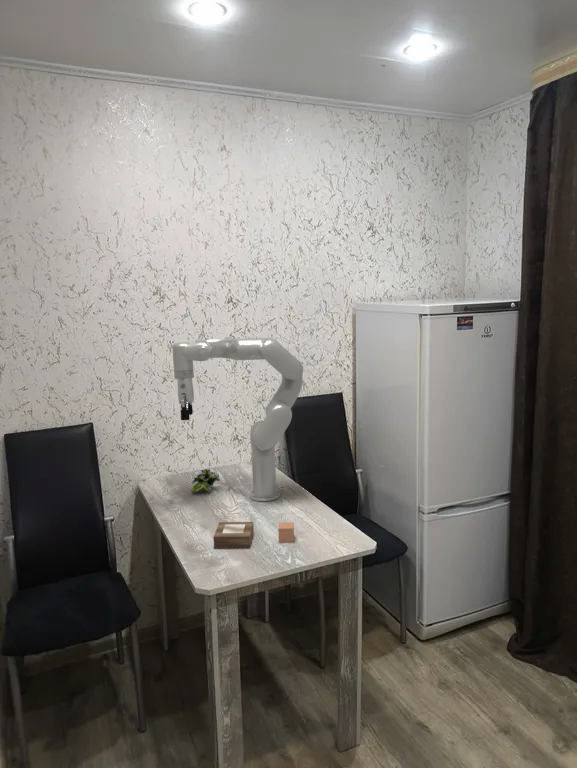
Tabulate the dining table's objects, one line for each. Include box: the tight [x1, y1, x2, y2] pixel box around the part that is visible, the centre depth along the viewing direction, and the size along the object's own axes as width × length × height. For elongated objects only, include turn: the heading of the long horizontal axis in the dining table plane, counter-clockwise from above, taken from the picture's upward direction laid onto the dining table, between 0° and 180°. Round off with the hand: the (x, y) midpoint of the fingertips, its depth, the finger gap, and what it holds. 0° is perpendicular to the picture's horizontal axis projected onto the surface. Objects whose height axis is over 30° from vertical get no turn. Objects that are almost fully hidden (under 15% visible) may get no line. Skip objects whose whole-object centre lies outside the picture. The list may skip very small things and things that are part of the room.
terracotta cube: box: [277, 521, 295, 543], centre depth 191 cm, size 5×5×5 cm
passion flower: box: [190, 468, 220, 494], centre depth 239 cm, size 11×11×12 cm
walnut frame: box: [212, 521, 255, 549], centre depth 191 cm, size 12×12×4 cm
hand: (187, 417), depth 221 cm, fingers open, 9 cm apart
